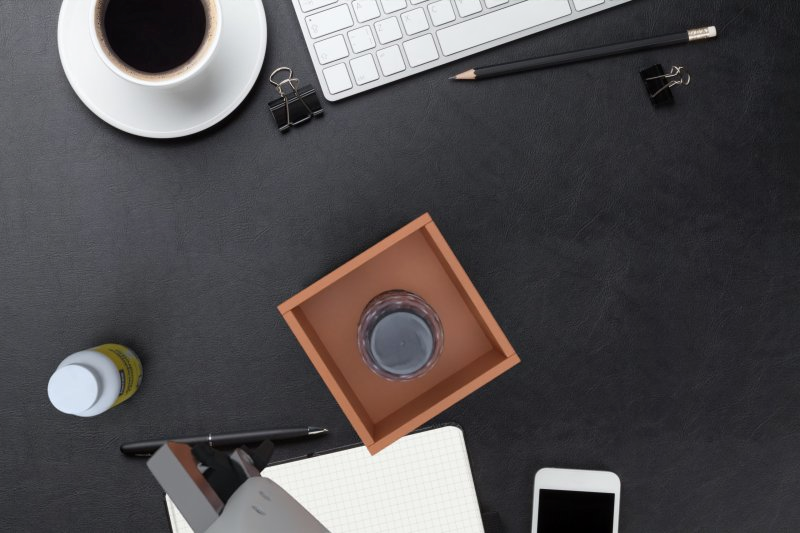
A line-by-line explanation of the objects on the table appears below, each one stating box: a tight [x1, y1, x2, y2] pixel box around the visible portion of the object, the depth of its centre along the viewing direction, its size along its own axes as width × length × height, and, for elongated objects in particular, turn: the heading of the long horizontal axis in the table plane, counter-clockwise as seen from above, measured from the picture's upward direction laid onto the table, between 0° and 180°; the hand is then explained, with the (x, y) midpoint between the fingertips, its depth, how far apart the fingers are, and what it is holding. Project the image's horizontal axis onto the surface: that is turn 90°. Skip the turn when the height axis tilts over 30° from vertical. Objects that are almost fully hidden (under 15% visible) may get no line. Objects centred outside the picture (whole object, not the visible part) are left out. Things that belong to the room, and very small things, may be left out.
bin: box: [276, 211, 522, 457], centre depth 56 cm, size 12×12×7 cm
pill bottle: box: [47, 342, 144, 418], centre depth 77 cm, size 6×6×12 cm
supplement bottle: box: [357, 289, 444, 382], centre depth 53 cm, size 6×6×11 cm
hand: (317, 524), depth 40 cm, fingers open, 9 cm apart
